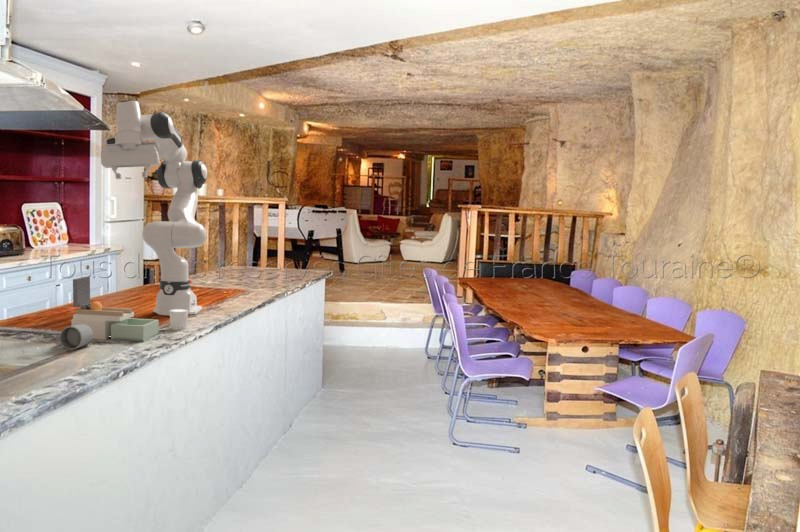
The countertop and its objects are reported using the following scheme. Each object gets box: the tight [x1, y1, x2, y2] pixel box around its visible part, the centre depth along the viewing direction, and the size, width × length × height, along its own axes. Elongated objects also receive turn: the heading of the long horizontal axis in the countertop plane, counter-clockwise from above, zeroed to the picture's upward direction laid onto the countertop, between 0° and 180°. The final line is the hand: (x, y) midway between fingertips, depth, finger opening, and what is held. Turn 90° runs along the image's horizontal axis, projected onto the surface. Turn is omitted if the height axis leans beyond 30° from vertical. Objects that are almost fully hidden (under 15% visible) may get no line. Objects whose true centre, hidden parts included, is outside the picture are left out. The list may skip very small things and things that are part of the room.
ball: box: [90, 301, 103, 310], centre depth 229 cm, size 4×4×4 cm
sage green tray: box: [110, 317, 160, 343], centre depth 229 cm, size 12×12×6 cm
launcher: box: [71, 306, 135, 341], centre depth 229 cm, size 12×17×10 cm
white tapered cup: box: [169, 309, 188, 331], centre depth 246 cm, size 7×7×7 cm
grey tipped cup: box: [55, 324, 93, 351], centre depth 212 cm, size 11×8×8 cm
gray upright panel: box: [72, 276, 92, 310], centre depth 229 cm, size 8×4×12 cm, turn 175°
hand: (131, 178), depth 241 cm, fingers open, 8 cm apart
